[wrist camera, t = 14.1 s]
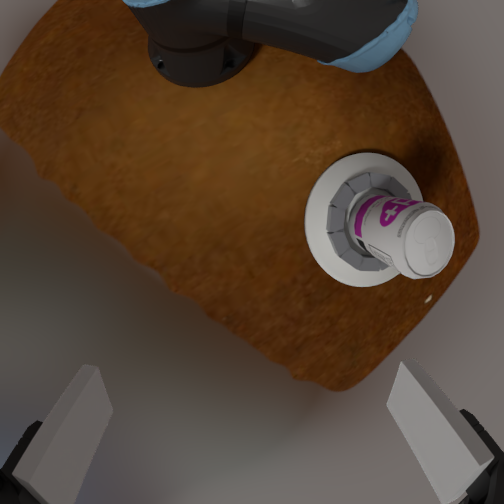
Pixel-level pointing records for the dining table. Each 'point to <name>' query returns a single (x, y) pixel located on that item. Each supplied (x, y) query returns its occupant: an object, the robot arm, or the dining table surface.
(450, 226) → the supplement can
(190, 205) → the dining table surface
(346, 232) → the round tray
